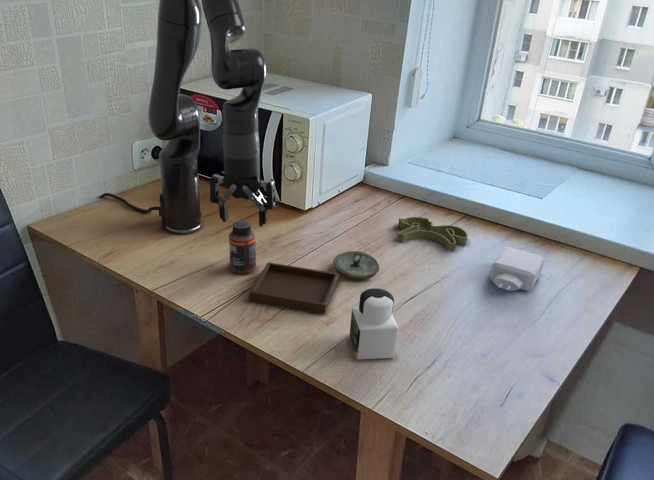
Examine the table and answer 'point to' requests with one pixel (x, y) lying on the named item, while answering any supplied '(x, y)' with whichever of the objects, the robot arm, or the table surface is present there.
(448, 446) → the table surface
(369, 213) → the table surface
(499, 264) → the charger
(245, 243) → the supplement bottle
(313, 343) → the table surface
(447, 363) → the table surface
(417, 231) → the cookie cutter
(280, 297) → the tray
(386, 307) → the medicine bottle
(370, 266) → the antique brass shank button
